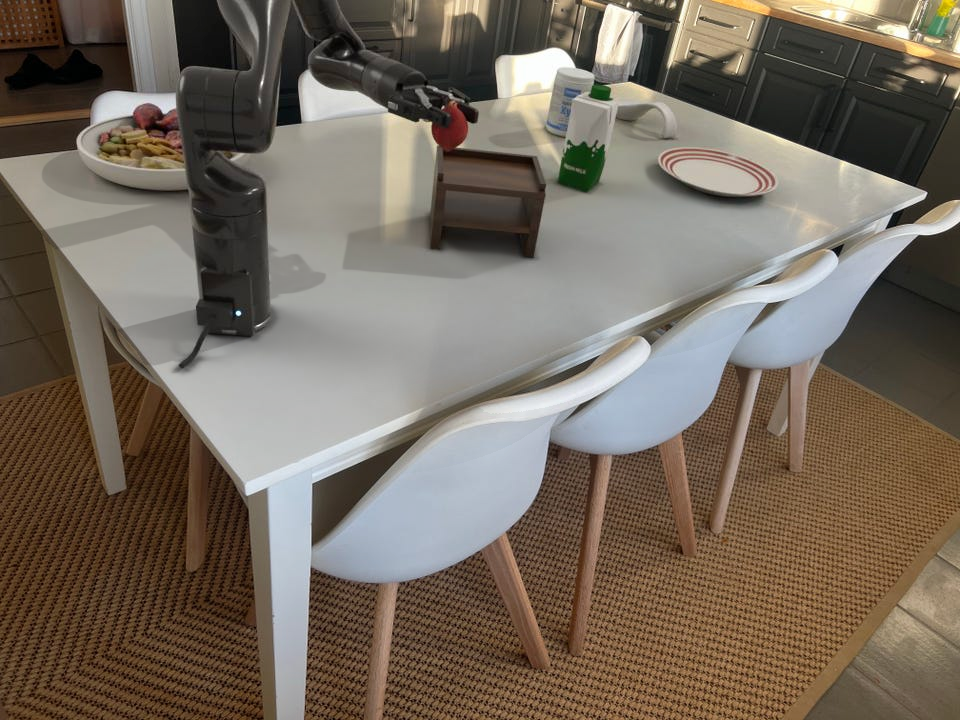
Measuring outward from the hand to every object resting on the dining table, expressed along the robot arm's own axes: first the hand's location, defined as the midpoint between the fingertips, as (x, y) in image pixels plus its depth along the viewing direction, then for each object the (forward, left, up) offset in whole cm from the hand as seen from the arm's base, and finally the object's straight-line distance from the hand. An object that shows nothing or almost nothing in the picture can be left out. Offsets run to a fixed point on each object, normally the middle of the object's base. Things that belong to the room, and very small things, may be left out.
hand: (462, 119), depth 116 cm
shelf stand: (+7, -6, -23) cm, 25 cm away
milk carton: (+37, -29, -23) cm, 53 cm away
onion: (+2, +2, -6) cm, 7 cm away
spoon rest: (+85, -54, -23) cm, 104 cm away
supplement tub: (+71, -31, -23) cm, 81 cm away
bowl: (+25, +53, -23) cm, 63 cm away
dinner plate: (+47, -63, -23) cm, 82 cm away
